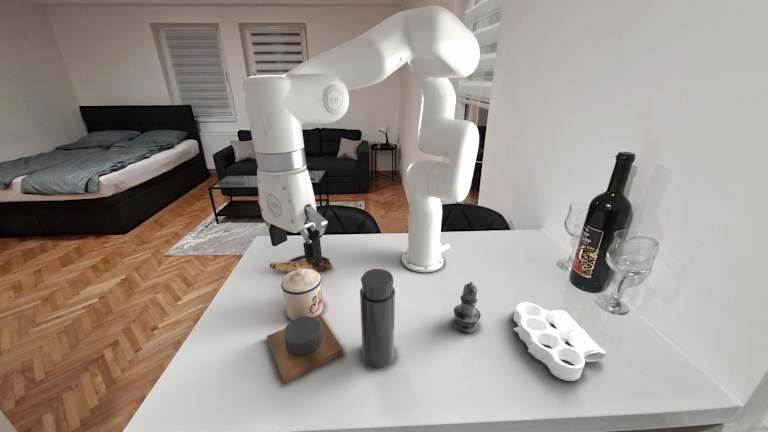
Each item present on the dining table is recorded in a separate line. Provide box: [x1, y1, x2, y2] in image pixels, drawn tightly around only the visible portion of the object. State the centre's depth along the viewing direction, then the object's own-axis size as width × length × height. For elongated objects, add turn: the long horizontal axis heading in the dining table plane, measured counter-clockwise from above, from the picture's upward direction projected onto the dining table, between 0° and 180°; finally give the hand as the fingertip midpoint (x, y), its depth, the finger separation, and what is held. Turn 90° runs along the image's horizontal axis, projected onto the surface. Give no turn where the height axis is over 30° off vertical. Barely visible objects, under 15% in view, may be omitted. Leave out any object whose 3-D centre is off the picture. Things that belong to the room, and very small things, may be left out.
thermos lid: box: [284, 317, 322, 356], centre depth 62 cm, size 7×7×4 cm
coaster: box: [266, 313, 344, 384], centre depth 63 cm, size 12×12×2 cm
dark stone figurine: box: [453, 281, 482, 335], centre depth 67 cm, size 6×6×12 cm
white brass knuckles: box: [512, 302, 607, 382], centre depth 64 cm, size 3×18×15 cm
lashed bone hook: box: [269, 254, 333, 273], centre depth 90 cm, size 9×5×18 cm
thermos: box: [359, 268, 396, 369], centre depth 58 cm, size 6×6×19 cm
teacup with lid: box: [280, 268, 324, 321], centre depth 73 cm, size 12×9×12 cm
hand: (296, 251), depth 56 cm, fingers open, 9 cm apart
